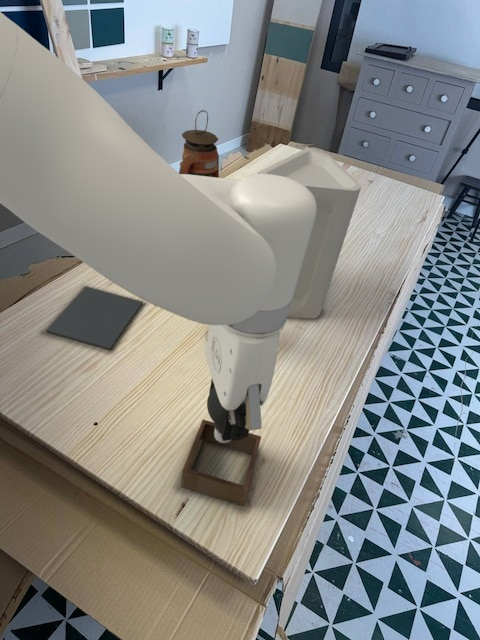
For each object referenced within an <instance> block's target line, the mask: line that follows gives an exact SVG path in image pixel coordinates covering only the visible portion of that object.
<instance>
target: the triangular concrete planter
mask: <svg viewBox="0 0 480 640" xmlns="http://www.w3.org/2000/svg"><path fill="white" fill-rule="evenodd" d="M256 174H272V175H278V176H283V177H287V178H289V179H292V180H295V181H297V182H299V183H301V184H302V185H304V186H305V187H307V188H308V189H309V190H310V192H311V193H312V194H313V196H314V198H315V201H316V206H317V208H316V216H315V221H314V224H313V228H312V231H311V235H310V238H309V242H308V245H307V249H306V252H305V256H304V259H303V263H302V266H301V270H300V273H299V277H298V280H297V284H296V288H295V291H294V295H293V298H292V302H291V305H290V309H289V312H288V316H287V318H294V319H309V320H311V319H312V320H315V319H316V318H318V317H319V316H320V315H321V313H322V310H323V307H324V304H325V301H326V298H327V294H328V291H329V289H330V288H329V287H330V285H331V283H332V279H333V276H334V273H335V270H336V267H337V263H338V260H339V258H340V254H341V252H342V248H343V246H344V243H345V239H346V235H347V234H348V231H349V230H348V229H349V227H350V223H351V220H352V217H353V214H354V212H355V209H356V205H357V202H358V199H359V196H360V193H361V191H362V188H363V187H362V184H361V183H360V182H359V181H358V180H357V179H356V178H355V177H353V175H351V173H349V172H348V171H347V170H346V169H345V168H344V167H343V166H342V165H340V164H339V163H338V161H336V160H335V159H334V158H333V157H332V156H331V155H329V154H327V153H326V152H323V151H320V150H317V149H314V148H310V147H306V148H304V149H302V150H300V151H297V152H295V153H294V154H292V155H290V156H287V157H286V158H283V159H281V160H280V161H278V162H276V163H273V164H272V165H269V166H267V167H266V168H264V169H261V170H260V171H257V173H256Z"/></svg>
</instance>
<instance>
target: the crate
mask: <svg viewBox="0 0 480 640" xmlns="http://www.w3.org/2000/svg"><path fill="white" fill-rule="evenodd" d="M214 431H215V424H214V421H210V420H206V419H202V420H201V423H200V425H199V427H198V430H197V432H196V435H195V438H194V440H193V442H192V446H191V448H190V450H189V452H188V455H187V457H186V461H185V464H184V466H183V468H182V470H181V479H180V480H181V481H180V482H181V483H180V487H181V488H184V489H186V490H190V491H193V492H196V493H200V494H202V495H206V496H209V497H212V498H216V499H220V500H222V501H225V502H229V503H232V504H235V505H238V506H240V507H244V504H245V501H246V500H245V499H246V497H247V493H248V490H249V485H250V482H251V478H252V475H253V471H254V466H255V463H256V460H257V459H256V458H257V454H258V451H259V447H260V444H261V440H262V436H261V435H257V434H254V433H251V432H249V434H248V436H247V437H246V438H243V439H241V440H231V441H229V442H228V443H221V442H219V441H217V440H216V438H215V436H214ZM203 441H206V442H209V443H213V444H217V445H219V446H223V447H226V448H229V449H232V450H236V451H240V452H242V453H243V452H244V453H246V454H249V455H251V457H250V461H249V465H248V469H247V472H246V476H245V480H244V484H240V483H236V482H233V481H230V480H227V479H224V478H220V477H217V476H214V475H210V474H208V473H205V472H200V471H198V470H194V469H193V467H194V465H195V463H196V460H197V457H198V455H199V452H200V449H201V446H202V444H203Z"/></svg>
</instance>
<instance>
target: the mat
mask: <svg viewBox="0 0 480 640" xmlns="http://www.w3.org/2000/svg"><path fill="white" fill-rule="evenodd" d="M143 304H144V303H143V301H141V300H138V299H134V298H130V297H126V296H123V295H119V294H116V293H112V292H109V291H105V290H101V289H97V288H94V287H90V286H85V287H84V288H82V290H81V291H80V292H79V293H78V294H77V295H76V296H75V298H74V299H73V300H72V301H71V302H70V303H69V304H68V305H67V307H66V308H64V310H63V311H62V312H61V313H60V314H59V315H58V316H57V318H56V319H55V320H54V321H53V322H52V323H51V324H50V325H49V326H48V328H46V329H45V331H46V333H49V334H51V335H55V336H59V337H62V338H65V339H69V340H72V341H75V342H80V343H83V344H87V345H90V346H94V347H98V348H101V349H104V350H107V351H111V350H112V349H113V347H114V346H115V344H116V342H117V341H118V340H119V338H120V337H121V335H122V334H123V332H124V331H125V329H126V328H127V327H128V325H129V324H130V323H131V321H132V319H133V318H134V317H135V316H136V314H137V312H138V311H139V310H140V309H141V307H142V305H143Z"/></svg>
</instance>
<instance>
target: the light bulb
mask: <svg viewBox="0 0 480 640" xmlns="http://www.w3.org/2000/svg"><path fill="white" fill-rule="evenodd" d="M209 392H210V391H209ZM206 408H207V412H208V415H209V417H210V419H211V420H212V422H214V424H215V431H214V436H215V438H216V440H217V441H219V442H221V443H228V442H229V441H231V440H226V441H223V440H222V437H221V435H222V430H223V425H224V421H225V416H228V415H229V410H226V409H225V408H224V407H223V406H222V405H221V403H220V401H219V398H218V395H217V392H216V389H215V387H214V388H213V389H212V390H211V392H210V394H208V396H207V400H206ZM241 411H246V405H239V407H238V408H237V412H241Z"/></svg>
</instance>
